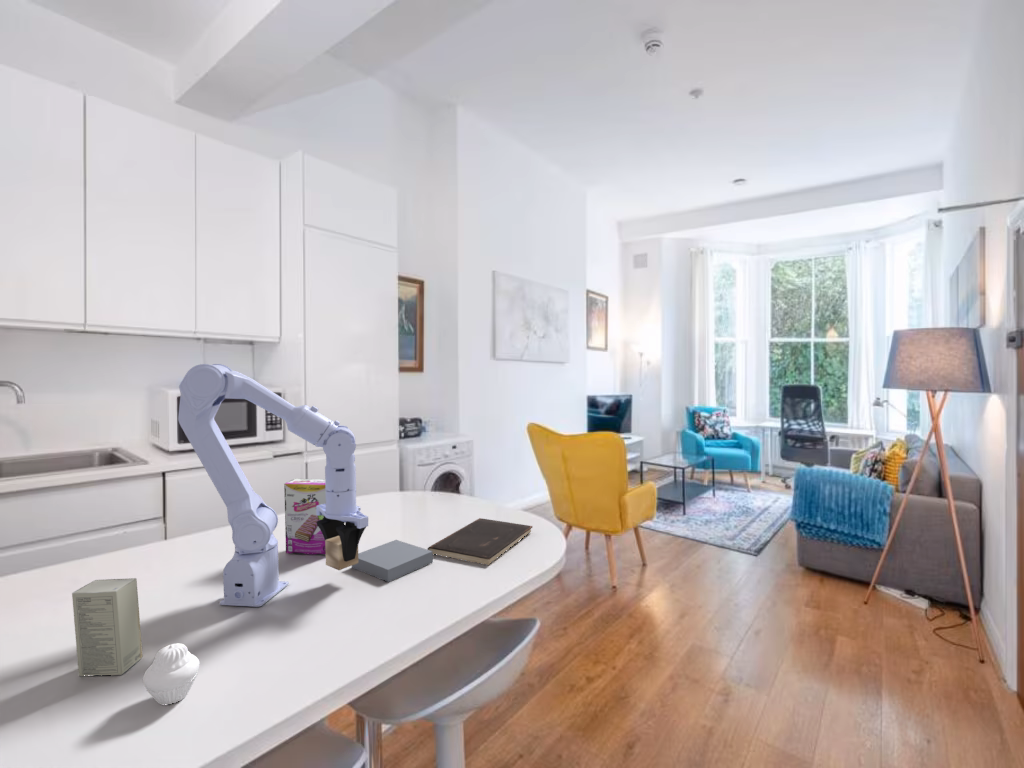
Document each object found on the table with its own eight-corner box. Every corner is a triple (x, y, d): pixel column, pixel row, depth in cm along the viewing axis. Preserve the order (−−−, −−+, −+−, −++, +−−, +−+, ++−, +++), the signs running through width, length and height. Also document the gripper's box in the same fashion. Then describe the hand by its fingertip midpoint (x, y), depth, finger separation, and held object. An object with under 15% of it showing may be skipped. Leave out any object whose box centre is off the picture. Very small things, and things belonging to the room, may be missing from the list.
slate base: (432, 562, 109) (432, 551, 109) (388, 582, 99) (388, 569, 99) (396, 550, 116) (396, 539, 116) (351, 567, 106) (351, 555, 106)
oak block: (358, 563, 100) (358, 538, 99) (338, 570, 96) (338, 544, 96) (345, 557, 102) (344, 533, 102) (325, 564, 99) (325, 539, 99)
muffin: (211, 686, 68) (210, 635, 67) (170, 717, 62) (168, 662, 61) (175, 679, 69) (173, 629, 69) (131, 709, 63) (129, 654, 63)
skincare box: (143, 658, 74) (140, 577, 74) (121, 676, 70) (117, 591, 69) (99, 659, 74) (96, 578, 73) (74, 678, 70) (70, 592, 69)
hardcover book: (532, 534, 128) (532, 526, 127) (489, 568, 107) (489, 558, 107) (477, 526, 134) (477, 517, 134) (427, 556, 114) (427, 546, 114)
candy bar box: (284, 554, 114) (282, 483, 113) (296, 546, 119) (294, 478, 118) (331, 556, 113) (330, 484, 112) (341, 548, 118) (340, 478, 117)
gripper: (380, 490, 97) (381, 558, 98) (337, 479, 106) (338, 543, 107) (349, 497, 92) (350, 570, 92) (306, 486, 101) (307, 553, 101)
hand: (342, 556), depth 99 cm, fingers closed on oak block, 4 cm apart
